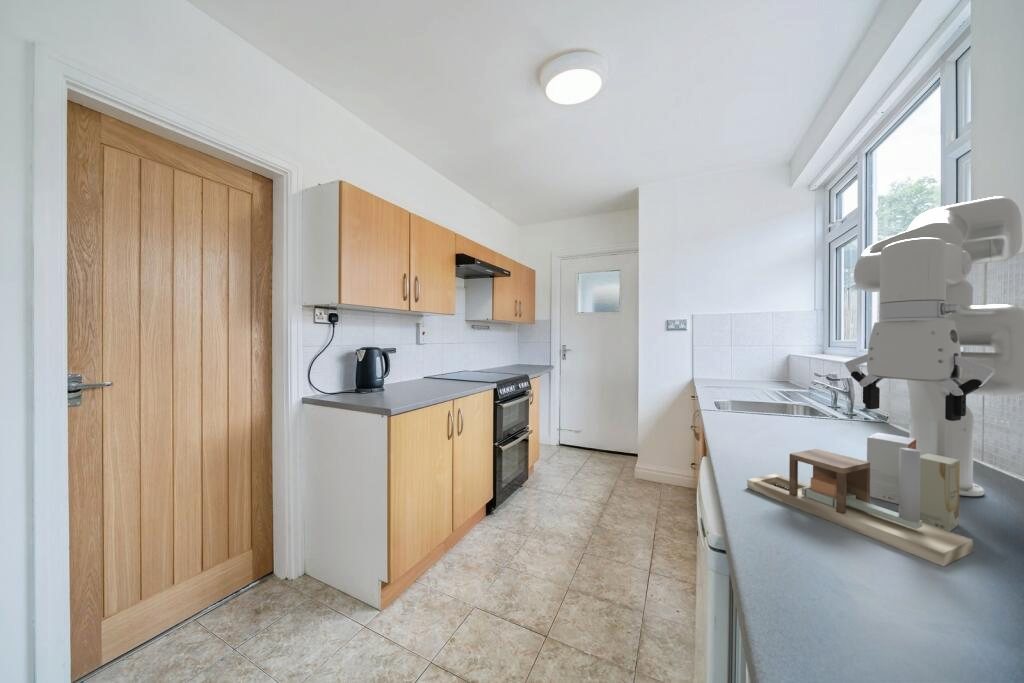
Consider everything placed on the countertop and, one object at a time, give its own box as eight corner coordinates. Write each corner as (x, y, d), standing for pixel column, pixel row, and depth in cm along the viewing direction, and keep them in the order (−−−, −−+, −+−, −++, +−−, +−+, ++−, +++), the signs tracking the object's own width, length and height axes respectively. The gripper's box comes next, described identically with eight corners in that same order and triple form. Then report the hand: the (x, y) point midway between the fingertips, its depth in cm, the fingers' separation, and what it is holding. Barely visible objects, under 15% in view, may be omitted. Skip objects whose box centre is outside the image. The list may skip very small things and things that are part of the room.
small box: (908, 507, 72) (909, 444, 72) (865, 495, 77) (866, 436, 77) (916, 497, 76) (917, 438, 76) (875, 487, 82) (875, 431, 82)
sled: (819, 490, 75) (820, 428, 75) (927, 527, 60) (928, 449, 60) (801, 495, 72) (802, 430, 72) (909, 534, 58) (910, 454, 58)
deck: (775, 481, 85) (775, 473, 85) (972, 551, 57) (973, 539, 57) (747, 488, 81) (747, 479, 81) (943, 566, 53) (943, 553, 53)
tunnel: (815, 487, 77) (815, 448, 77) (869, 505, 68) (870, 462, 68) (789, 494, 73) (789, 453, 73) (842, 514, 65) (843, 468, 65)
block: (822, 494, 73) (822, 475, 73) (846, 502, 70) (846, 482, 70) (810, 497, 72) (810, 477, 72) (834, 506, 68) (834, 485, 68)
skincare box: (949, 533, 62) (950, 464, 62) (913, 521, 66) (914, 457, 66) (960, 524, 65) (961, 458, 65) (925, 514, 69) (926, 452, 69)
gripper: (1005, 310, 53) (1003, 423, 53) (858, 317, 69) (857, 404, 69) (983, 308, 50) (982, 427, 50) (835, 316, 66) (834, 406, 66)
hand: (909, 414), depth 60 cm, fingers open, 9 cm apart
